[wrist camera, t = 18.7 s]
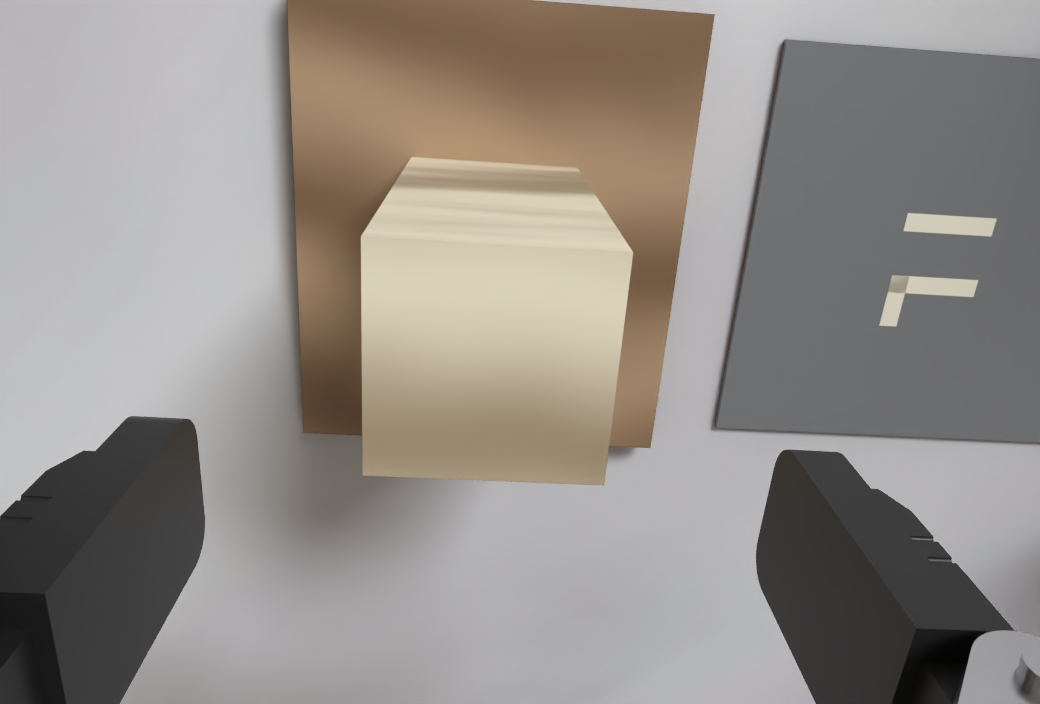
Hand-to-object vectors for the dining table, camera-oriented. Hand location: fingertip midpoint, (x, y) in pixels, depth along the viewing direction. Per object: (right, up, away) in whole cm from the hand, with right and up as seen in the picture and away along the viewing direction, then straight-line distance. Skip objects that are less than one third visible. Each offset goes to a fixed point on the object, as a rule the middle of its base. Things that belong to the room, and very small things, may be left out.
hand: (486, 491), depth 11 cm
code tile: (+14, +5, +16) cm, 22 cm away
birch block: (0, +5, +14) cm, 15 cm away
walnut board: (-1, +6, +15) cm, 16 cm away
